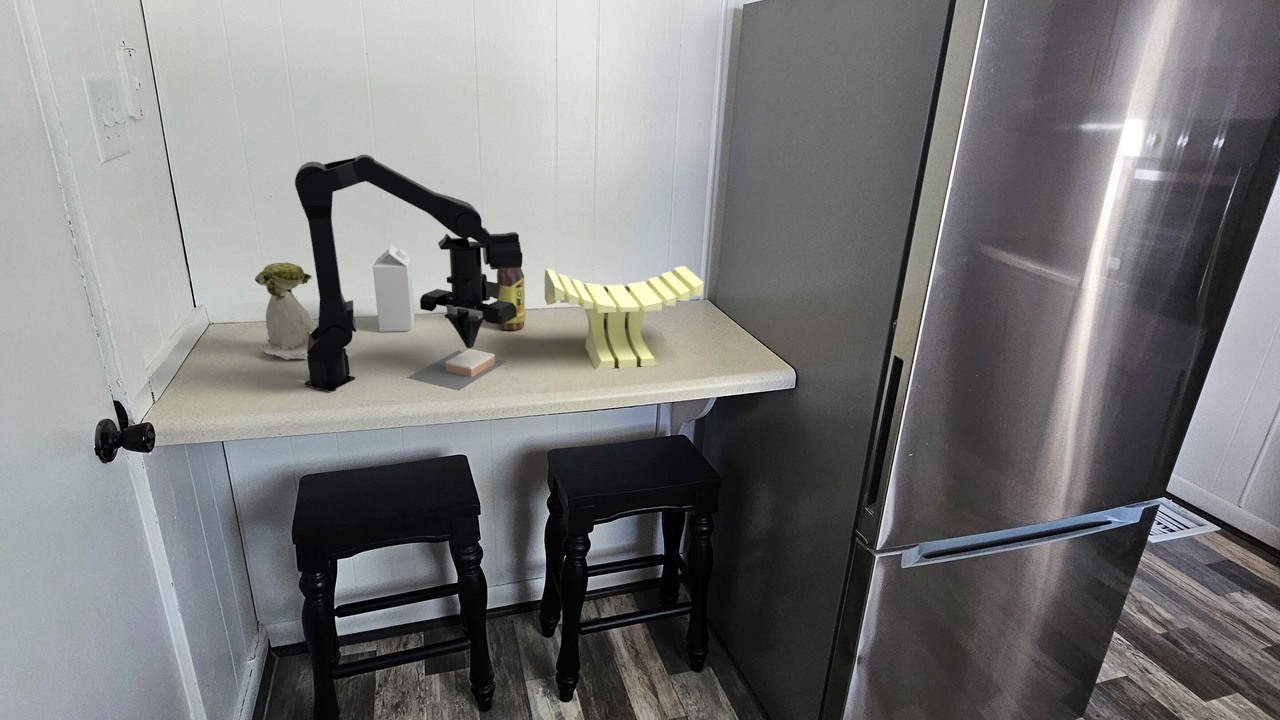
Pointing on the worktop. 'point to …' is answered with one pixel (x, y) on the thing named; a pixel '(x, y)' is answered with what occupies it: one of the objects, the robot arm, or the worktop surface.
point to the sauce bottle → (512, 295)
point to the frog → (285, 311)
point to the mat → (449, 374)
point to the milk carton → (394, 291)
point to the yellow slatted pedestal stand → (621, 312)
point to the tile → (470, 362)
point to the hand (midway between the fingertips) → (470, 347)
